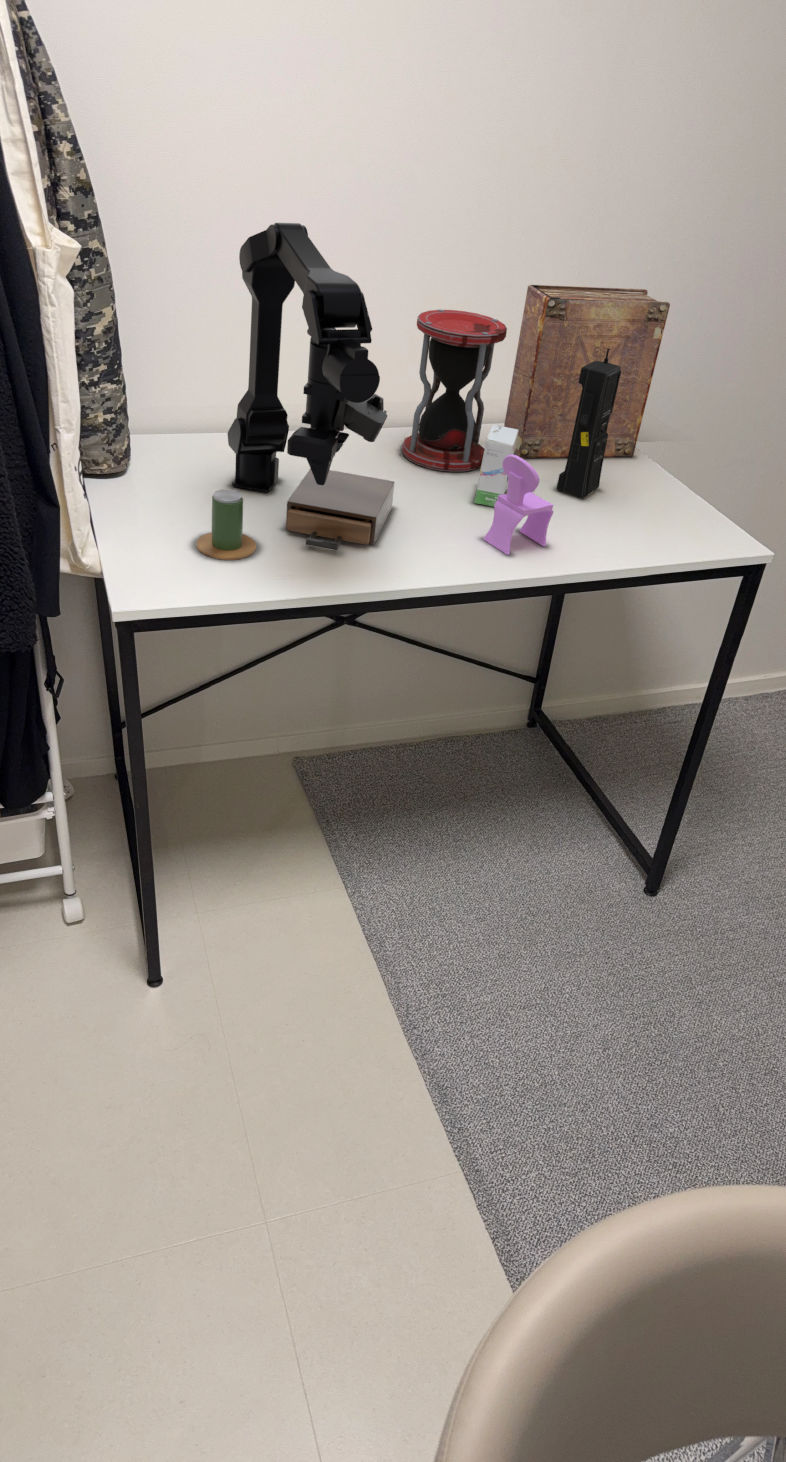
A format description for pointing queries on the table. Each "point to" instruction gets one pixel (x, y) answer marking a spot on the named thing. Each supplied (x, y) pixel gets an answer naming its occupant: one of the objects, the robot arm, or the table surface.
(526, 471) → the toy chair
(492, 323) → the hourglass
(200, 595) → the table surface
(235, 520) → the can
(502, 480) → the ink box
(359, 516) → the cabinet
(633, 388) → the book
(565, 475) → the portable radio
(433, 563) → the table surface
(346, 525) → the drawer
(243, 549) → the coaster
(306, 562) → the table surface
